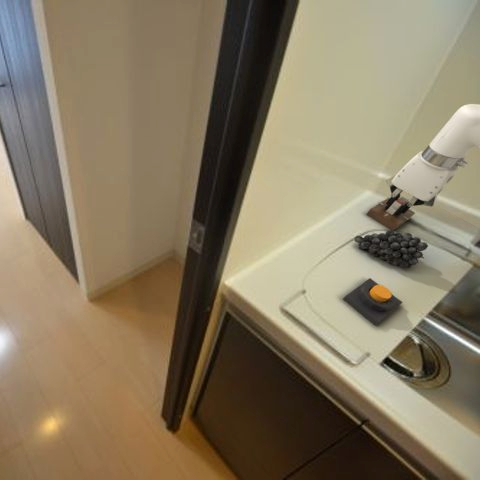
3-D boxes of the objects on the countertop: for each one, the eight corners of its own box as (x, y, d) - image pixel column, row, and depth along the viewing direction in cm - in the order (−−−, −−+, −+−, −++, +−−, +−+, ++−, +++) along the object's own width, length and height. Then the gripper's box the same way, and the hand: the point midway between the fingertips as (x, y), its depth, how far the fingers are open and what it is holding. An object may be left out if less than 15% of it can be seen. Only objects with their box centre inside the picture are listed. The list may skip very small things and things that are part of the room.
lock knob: (393, 206, 97) (403, 195, 93) (400, 209, 96) (410, 198, 92) (385, 211, 95) (395, 200, 92) (392, 215, 94) (401, 204, 91)
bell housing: (364, 283, 81) (374, 273, 78) (396, 307, 77) (408, 298, 74) (340, 300, 78) (350, 291, 75) (372, 327, 73) (384, 318, 70)
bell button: (374, 286, 76) (379, 282, 75) (389, 298, 74) (395, 293, 73) (366, 293, 75) (370, 289, 74) (381, 305, 73) (386, 300, 71)
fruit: (367, 225, 82) (438, 248, 77) (363, 215, 88) (429, 235, 83) (349, 254, 86) (415, 277, 81) (347, 242, 93) (408, 262, 88)
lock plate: (381, 204, 102) (387, 196, 99) (409, 220, 97) (417, 213, 95) (363, 215, 98) (369, 207, 96) (392, 233, 93) (399, 225, 91)
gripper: (484, 168, 78) (428, 222, 92) (415, 137, 87) (373, 191, 101) (471, 178, 76) (415, 232, 89) (400, 145, 84) (360, 199, 98)
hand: (393, 209), depth 95 cm, fingers closed
